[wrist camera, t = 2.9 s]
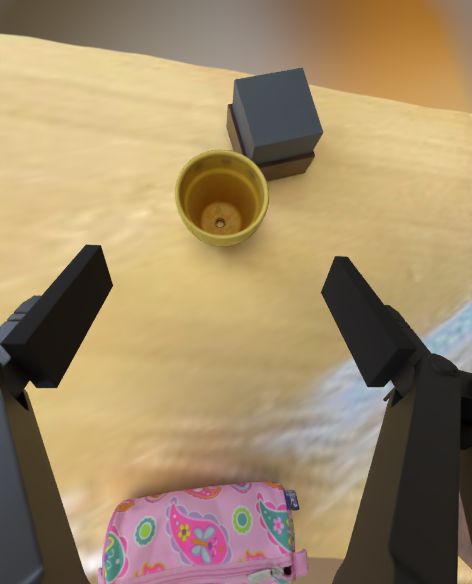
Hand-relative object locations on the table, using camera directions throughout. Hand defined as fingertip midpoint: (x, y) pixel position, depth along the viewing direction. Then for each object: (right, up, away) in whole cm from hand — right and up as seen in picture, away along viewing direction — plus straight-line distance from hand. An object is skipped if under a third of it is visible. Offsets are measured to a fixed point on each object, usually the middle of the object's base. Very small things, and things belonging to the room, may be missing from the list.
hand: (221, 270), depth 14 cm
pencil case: (-3, -30, +18) cm, 35 cm away
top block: (+6, +21, +20) cm, 30 cm away
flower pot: (-1, +9, +22) cm, 24 cm away
